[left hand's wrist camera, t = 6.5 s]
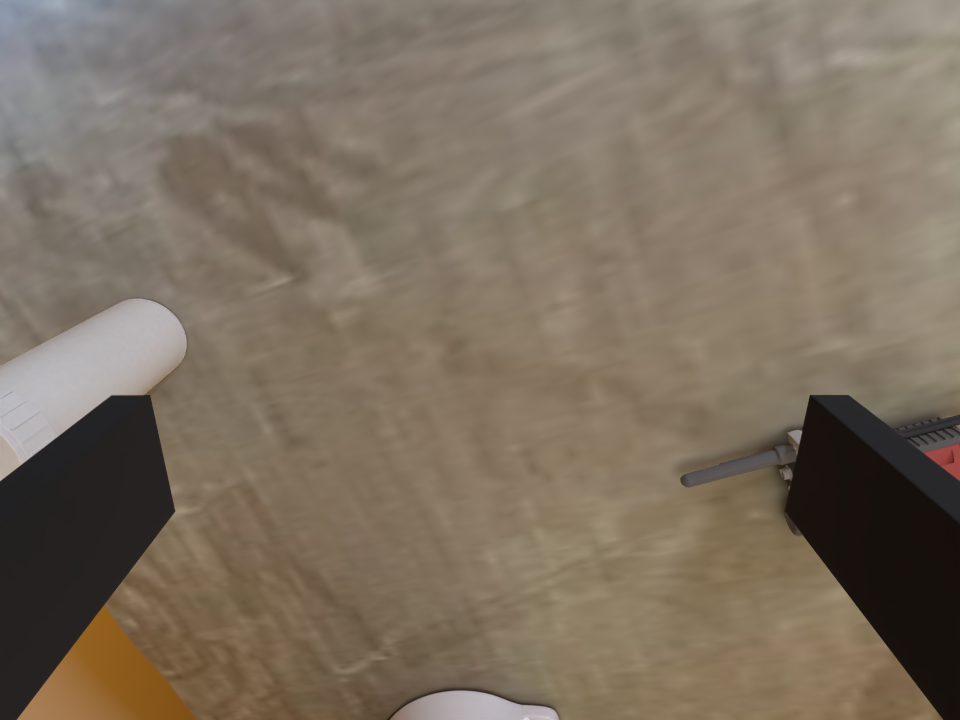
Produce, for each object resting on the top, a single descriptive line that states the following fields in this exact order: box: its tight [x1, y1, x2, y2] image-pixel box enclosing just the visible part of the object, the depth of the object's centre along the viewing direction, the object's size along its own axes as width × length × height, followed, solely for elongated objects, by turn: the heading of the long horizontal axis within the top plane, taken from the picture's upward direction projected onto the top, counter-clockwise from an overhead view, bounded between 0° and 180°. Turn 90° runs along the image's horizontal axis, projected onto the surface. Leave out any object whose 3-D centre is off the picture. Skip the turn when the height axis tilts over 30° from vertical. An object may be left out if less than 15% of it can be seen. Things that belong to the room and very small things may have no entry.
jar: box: [0, 298, 187, 437], centre depth 34 cm, size 5×5×16 cm
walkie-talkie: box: [680, 415, 960, 536], centre depth 43 cm, size 9×4×20 cm
